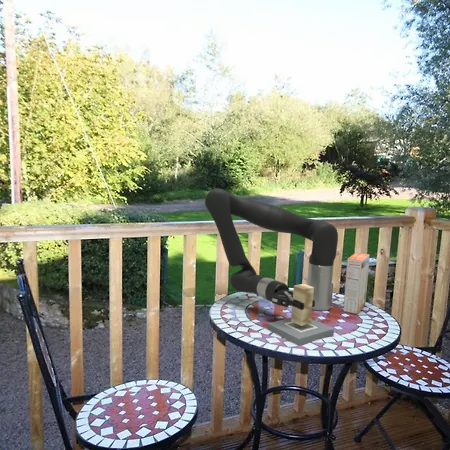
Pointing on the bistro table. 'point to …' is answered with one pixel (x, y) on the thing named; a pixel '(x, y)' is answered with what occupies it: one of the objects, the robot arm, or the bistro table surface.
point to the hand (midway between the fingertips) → (308, 305)
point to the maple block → (305, 296)
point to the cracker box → (356, 283)
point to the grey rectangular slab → (300, 331)
